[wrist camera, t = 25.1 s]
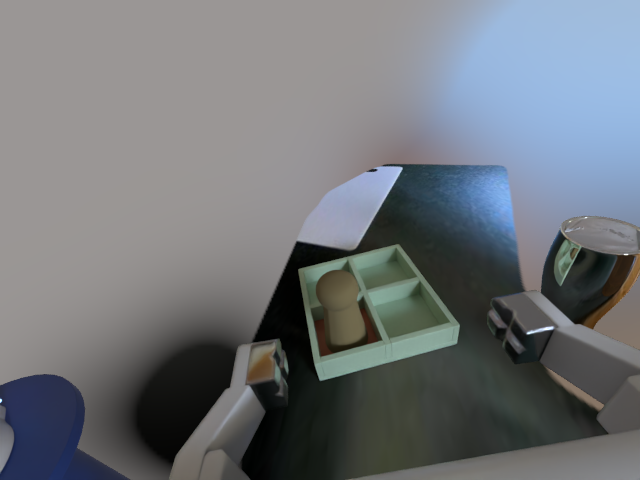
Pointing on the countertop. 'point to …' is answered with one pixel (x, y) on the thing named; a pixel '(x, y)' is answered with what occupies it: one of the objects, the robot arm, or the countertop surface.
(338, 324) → the cork
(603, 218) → the beer glass
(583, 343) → the robot arm
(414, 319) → the compartment tray
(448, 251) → the countertop surface
